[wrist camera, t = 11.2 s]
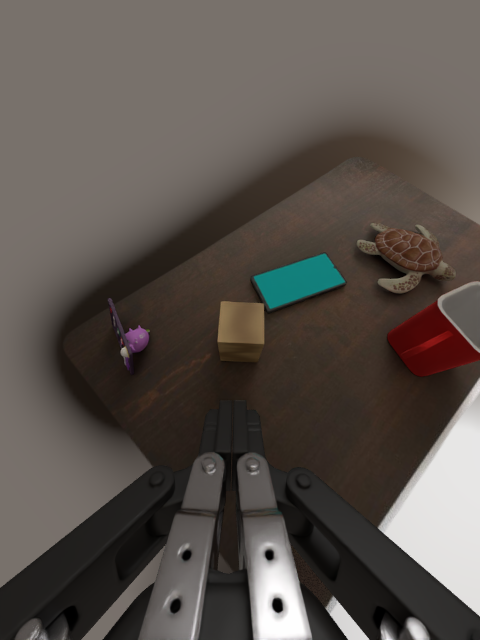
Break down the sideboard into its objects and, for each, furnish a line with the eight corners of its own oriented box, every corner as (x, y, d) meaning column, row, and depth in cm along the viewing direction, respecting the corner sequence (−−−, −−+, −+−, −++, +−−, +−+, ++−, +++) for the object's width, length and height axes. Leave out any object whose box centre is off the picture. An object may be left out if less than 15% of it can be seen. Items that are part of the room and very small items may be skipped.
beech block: (220, 360, 35) (217, 341, 28) (223, 326, 37) (220, 301, 30) (257, 362, 35) (264, 344, 28) (258, 328, 38) (264, 303, 30)
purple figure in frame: (101, 299, 31) (122, 357, 28) (141, 291, 34) (165, 343, 31) (106, 326, 37) (125, 377, 33) (141, 317, 39) (162, 364, 36)
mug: (420, 315, 39) (480, 277, 30) (458, 360, 36) (539, 333, 27) (361, 343, 37) (406, 311, 27) (396, 393, 34) (461, 377, 24)
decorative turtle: (426, 320, 39) (452, 305, 35) (337, 266, 43) (350, 247, 39) (461, 254, 45) (486, 234, 41) (380, 213, 50) (395, 191, 45)
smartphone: (250, 276, 41) (325, 251, 43) (249, 279, 41) (324, 254, 44) (268, 312, 38) (348, 283, 41) (267, 314, 39) (345, 286, 41)
